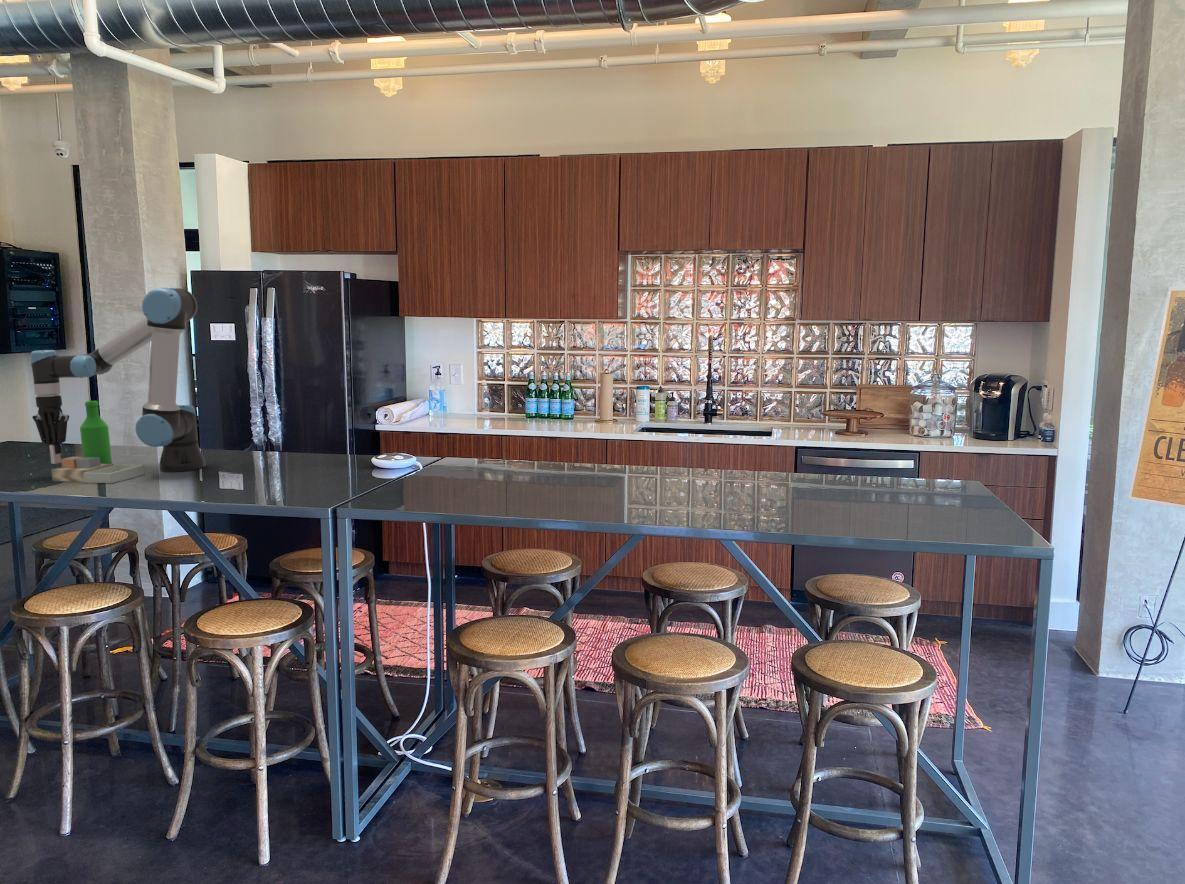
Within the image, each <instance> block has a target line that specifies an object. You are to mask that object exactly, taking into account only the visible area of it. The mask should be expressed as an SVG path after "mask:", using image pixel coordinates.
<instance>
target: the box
mask: <svg viewBox="0 0 1185 884" xmlns="http://www.w3.org/2000/svg"><path fill="white" fill-rule="evenodd" d="M145 472H146V471H145V464H125V463H123V464H122V463H121V464H120V463H117V464H113V466H109V467H105V468H101V469H97V470H93V471H89V472H85V473H83V477H84V482H83V484H93V483H106V484H105V485H112V483H113V484H116V482H117V483H120V482H124V481H127V480H131V479H134V478H133V477H135V478H138V477H141V476H140V475H142V476H145V474H146V473H145ZM137 476H138V477H137ZM130 478H131V479H130ZM126 479H127V480H126ZM123 480H124V481H123ZM119 481H120V482H119ZM107 483H109V484H107Z"/></svg>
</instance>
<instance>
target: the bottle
mask: <svg viewBox="0 0 1185 884" xmlns="http://www.w3.org/2000/svg"><path fill="white" fill-rule="evenodd" d="M99 405H100V404H99V402H98V400H87V401H85V402H84V406H85V413H86V417H85V419H84V421H83V422H82V424H81V425H80V427H79V430H80V439H81V448H82V449H81V451H82V457H100V464H113V462H112V451H111V442H110V432H109V425H108V424H107V423H106V422H105V421H104V420H103V419H102V417H101V416H100V412H99Z"/></svg>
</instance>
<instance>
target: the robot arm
mask: <svg viewBox="0 0 1185 884" xmlns="http://www.w3.org/2000/svg"><path fill="white" fill-rule="evenodd" d="M141 303H142V304H141V309H142V313H143V315H144V316H145V317H144V318H143V319H140V320H139V321H138V322H136V323H134V324H133V325H132V326H130V327H128V328H127V329H126V330H124V331H122V332H121V333H119V334H118V335H116V336H115V337H112V339H110V340H109V341H107V342H105V343H104V344H102V345H101V346H100V347H98V348H97V349H95V350H93V351H92V352H90V353H85V354H74V355H58V354H57V352H56V350H55V349H42V350H33V351H31V353H30V366H31V370H32V371H31V372H32V378H33V386H34V387H33V388H34V395H35V396H36V397H35V404H36V407H37V408H38V410H37V414H36V415H32V419H33V421H34V423H35V426H36V427H37V429H36V430H37V431H38V435H39V437H40V441H41V443H43V444H46V445H47V449H48V454H49V455H50V463H51V464H53V465H54V464H60V463H61V459H62V458H61V454H62V446H61V445H62V444H63V443H65V442H67V432H68V431H67V430H68V422H69V420H70V415H69V414H65V413H63V410H62V406H63V400H62V395H60V394H61V384H60V383H61V382H60V379H62V378H64V379H65V378H73V379H74V378H79V379H83V378H90V377H91V378H92V377H93V376H96V375H99V376H100V375H104V374H106V373H109V372H110V371H111V370H112V369H113V366H114V365H116V364H118V363H119V362H121V361H122V360H124V359H126V358H127V357H128V356H130V355H132V354H133V353H135V352H136V351H137V350H139V349H141V348H143V347H144V346H146V345H147V344H149V343H150V342H151V343H150V359H149V374H148V377H149V378H148V394H147V396H148V397H147V402H146V403H144V404H143V405H142V413H141V414H142V415H141V417H139V419H137V421H136V423H135V433H136V436H137V437H138V440H140V441H141V442H142V443H143V444H144V445H146V446H148V447H151V448H160V447H162V450H161V455H160V459H159V463H158V464H159V465H158V467H159V471H160V472H170V473H171V472H186V471H193V470H198V469H203V468H205V467H206V460H205V458H204V455H203V453H202V450H201V449H200V446H199V439H198V438H199V437H198V427H197V426H198V423H197V414H196V409H195V406H193V405H191V404H190V405H187V404H186V405H185V404H184V405H182V404H181V405H179V404H177V389H178V372H179V371H178V370H179V369H178V368H179V353H180V339H181V338H180V336H181V334H182V333H184V331H185V330H186V323H187V322H189V321H190V320H192V319H193V318H194V317H195V316H196V314H197V312H198V302H197V300H196V297H195V296H194V295H193V294H192V293H191V292H190V291H188V290H187V289H183V288H179V287H178V288H175V287H174V288H172V287H159V288H154V289H151V290H150V291H149V292H147V293H146V294H145V295H144V297H143V299H142V302H141ZM61 464H62V463H61Z"/></svg>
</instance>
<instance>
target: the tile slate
mask: <svg viewBox="0 0 1185 884" xmlns="http://www.w3.org/2000/svg"><path fill="white" fill-rule="evenodd" d="M76 463H77V468H93V467H97V466H101V464H100V457H85V458H80V459H76Z"/></svg>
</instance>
